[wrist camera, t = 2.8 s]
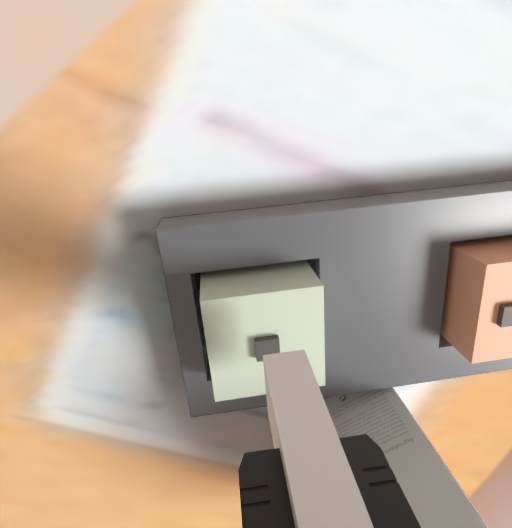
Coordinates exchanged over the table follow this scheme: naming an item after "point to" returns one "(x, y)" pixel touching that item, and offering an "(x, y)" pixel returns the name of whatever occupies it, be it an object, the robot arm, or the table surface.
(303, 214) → the board
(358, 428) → the small box
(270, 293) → the pale green button
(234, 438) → the table surface
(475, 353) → the peach rectangular block
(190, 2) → the table surface
